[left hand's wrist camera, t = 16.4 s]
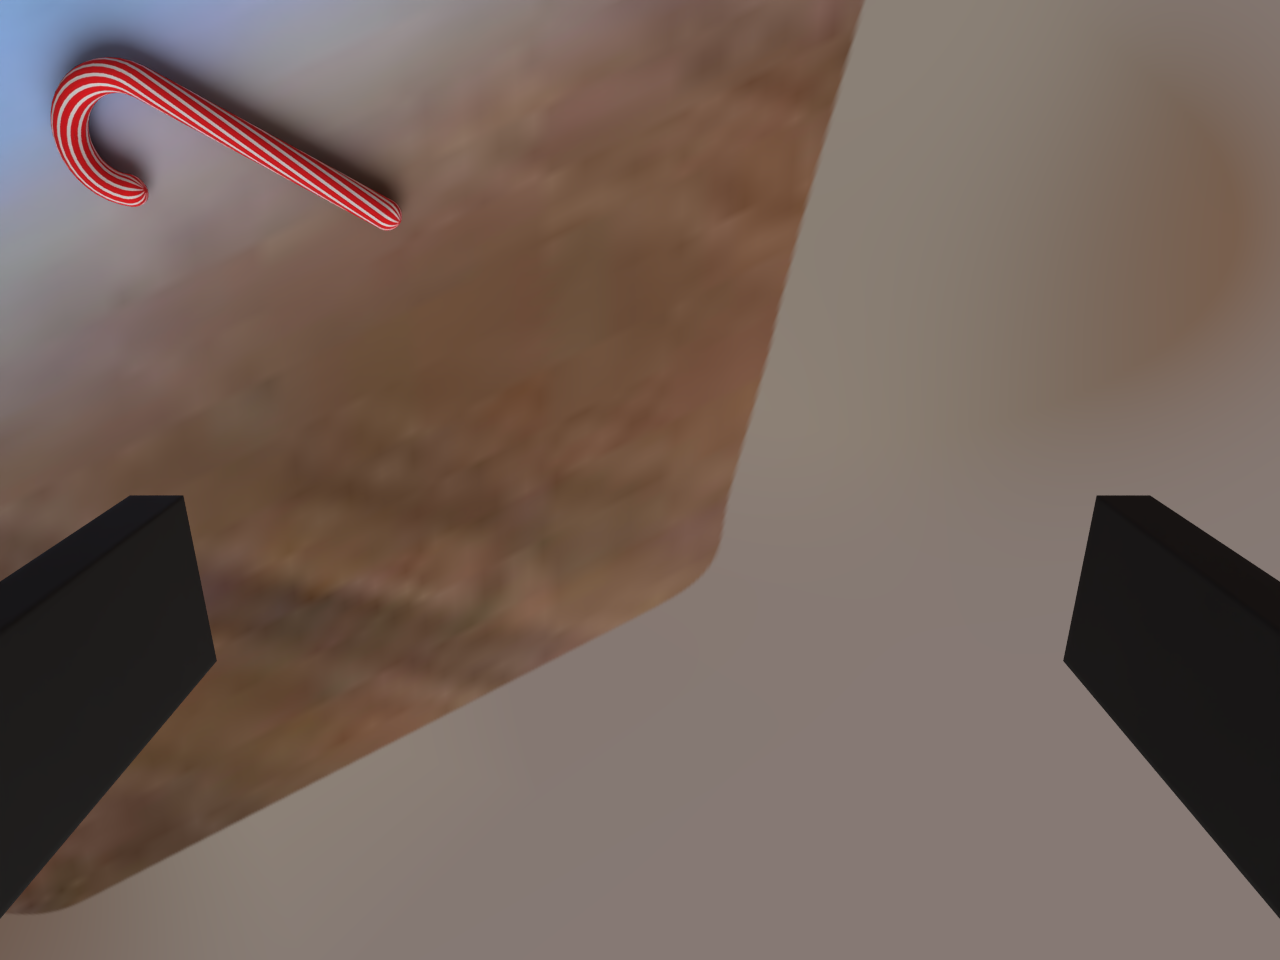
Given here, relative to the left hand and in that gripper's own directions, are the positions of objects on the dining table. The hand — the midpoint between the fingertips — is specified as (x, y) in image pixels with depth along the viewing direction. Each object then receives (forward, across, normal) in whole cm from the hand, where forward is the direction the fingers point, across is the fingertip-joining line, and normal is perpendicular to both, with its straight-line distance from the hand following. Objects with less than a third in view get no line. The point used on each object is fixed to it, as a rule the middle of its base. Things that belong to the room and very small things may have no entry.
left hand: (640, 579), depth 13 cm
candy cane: (+30, +18, -5) cm, 35 cm away
